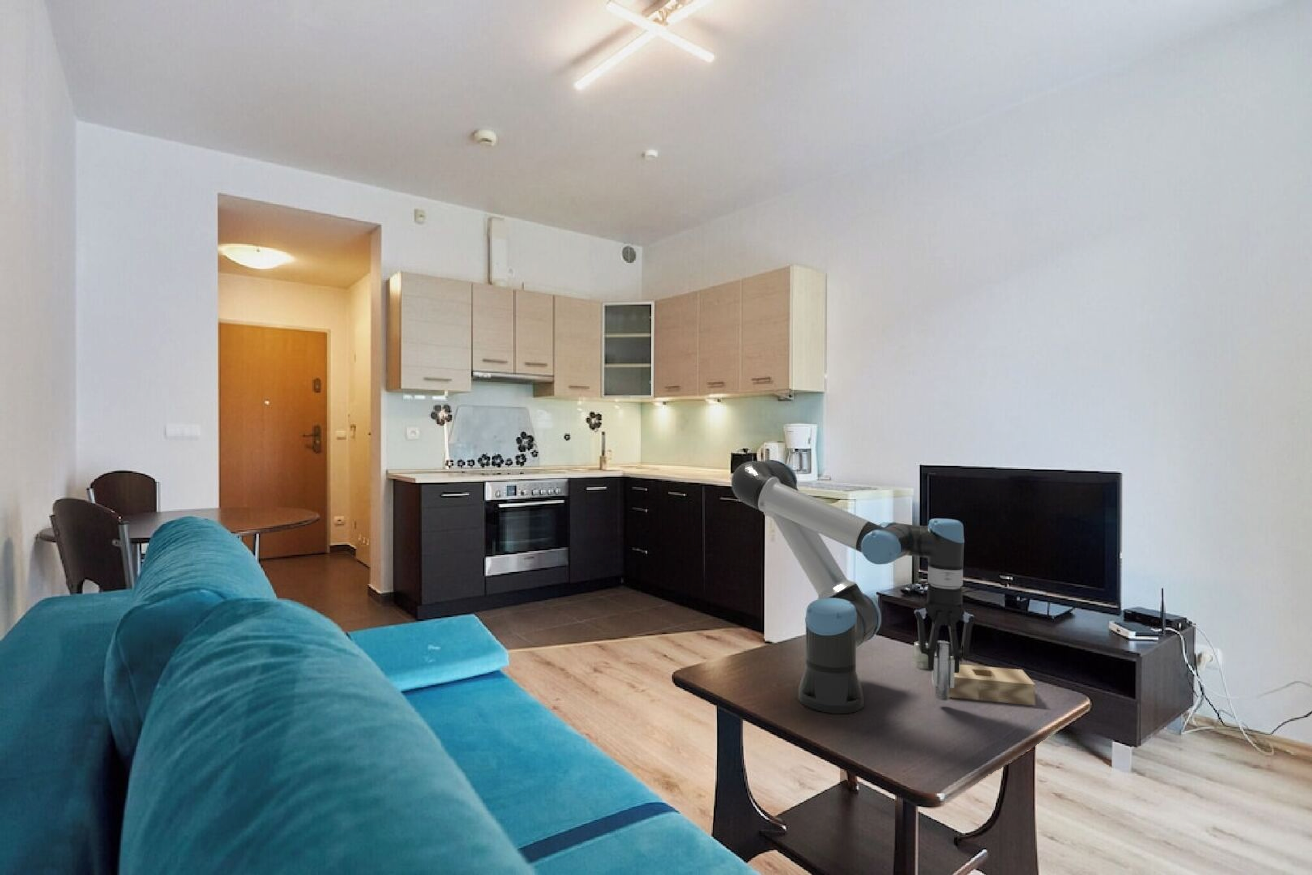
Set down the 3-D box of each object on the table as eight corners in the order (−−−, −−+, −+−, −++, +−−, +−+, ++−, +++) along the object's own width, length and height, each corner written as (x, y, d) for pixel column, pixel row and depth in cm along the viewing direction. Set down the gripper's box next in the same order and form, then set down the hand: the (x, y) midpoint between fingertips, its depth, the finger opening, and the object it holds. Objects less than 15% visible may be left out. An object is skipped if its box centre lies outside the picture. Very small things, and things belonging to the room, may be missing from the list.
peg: (936, 699, 148) (937, 643, 148) (934, 694, 151) (935, 640, 151) (950, 700, 148) (951, 645, 147) (948, 695, 150) (949, 641, 150)
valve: (910, 668, 175) (957, 678, 168) (910, 644, 175) (957, 653, 168) (916, 662, 180) (962, 671, 173) (916, 638, 180) (962, 647, 173)
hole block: (943, 696, 156) (943, 676, 156) (936, 681, 165) (936, 662, 165) (1035, 705, 151) (1035, 684, 151) (1022, 689, 160) (1022, 669, 160)
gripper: (910, 586, 148) (908, 686, 148) (986, 591, 144) (983, 695, 144) (906, 579, 155) (904, 675, 155) (978, 584, 151) (976, 682, 151)
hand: (942, 684), depth 149 cm, fingers closed on peg, 3 cm apart
